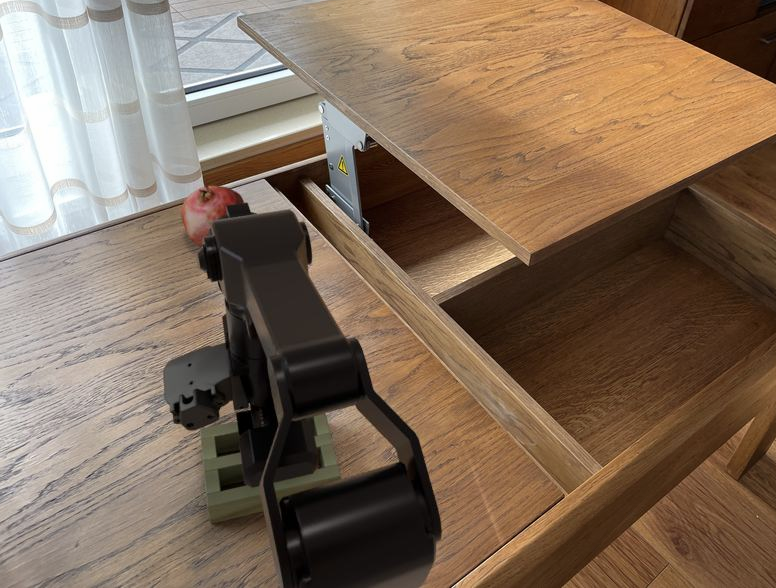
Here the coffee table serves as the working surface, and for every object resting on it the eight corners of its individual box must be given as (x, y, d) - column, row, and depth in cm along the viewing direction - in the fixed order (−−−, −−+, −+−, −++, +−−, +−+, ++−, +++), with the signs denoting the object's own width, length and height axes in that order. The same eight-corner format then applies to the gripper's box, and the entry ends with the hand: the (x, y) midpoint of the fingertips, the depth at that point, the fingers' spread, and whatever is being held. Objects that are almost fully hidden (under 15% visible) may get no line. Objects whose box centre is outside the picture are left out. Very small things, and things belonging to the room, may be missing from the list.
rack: (340, 492, 78) (341, 475, 75) (210, 524, 73) (207, 507, 71) (323, 421, 84) (323, 403, 82) (202, 446, 79) (199, 428, 77)
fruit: (247, 214, 110) (243, 161, 104) (251, 256, 103) (247, 201, 97) (184, 218, 107) (176, 164, 101) (183, 261, 101) (174, 205, 94)
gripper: (158, 272, 65) (178, 379, 75) (167, 446, 52) (191, 547, 62) (283, 257, 69) (286, 360, 79) (320, 415, 56) (319, 515, 66)
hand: (270, 437), depth 71 cm, fingers closed
